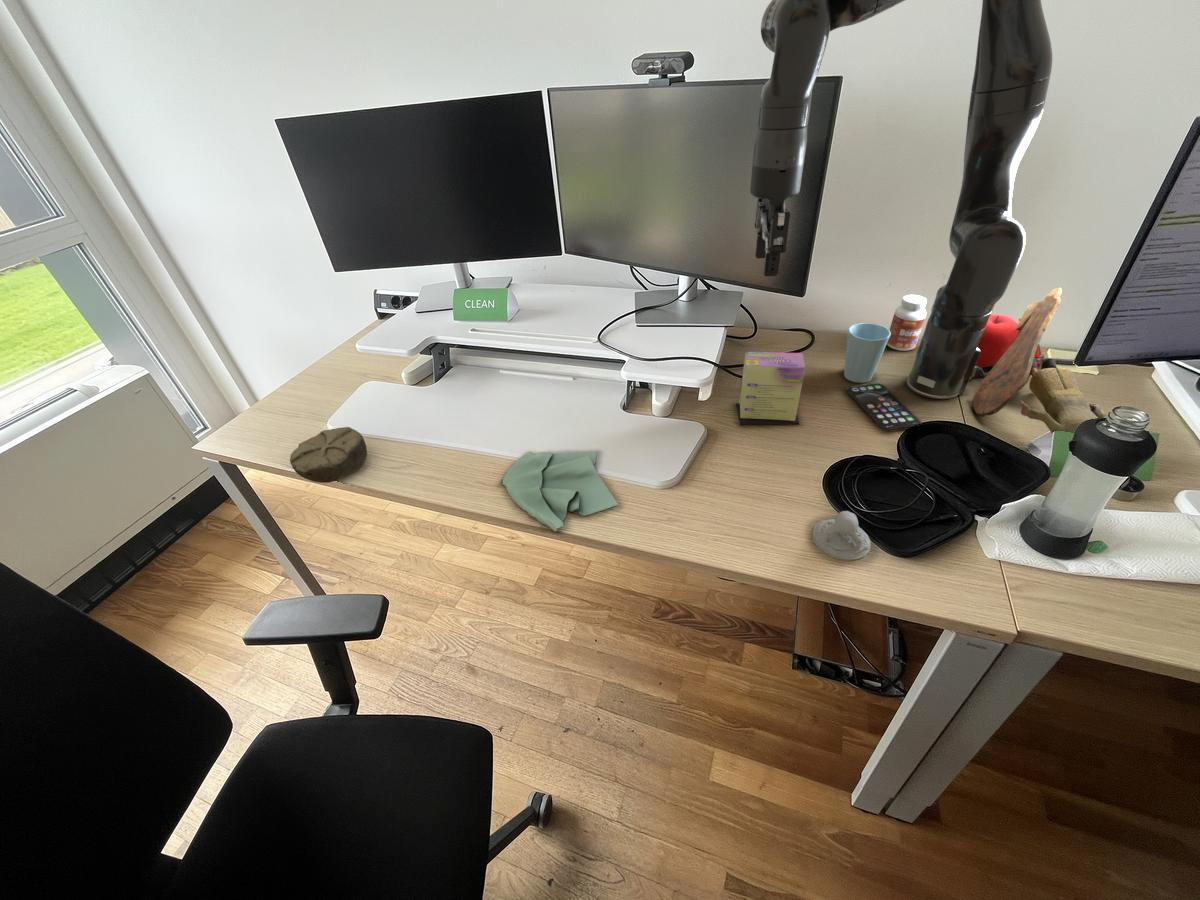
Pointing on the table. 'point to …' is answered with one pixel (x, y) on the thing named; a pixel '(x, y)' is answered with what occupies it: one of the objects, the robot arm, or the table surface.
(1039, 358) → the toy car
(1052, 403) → the figurine
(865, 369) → the cup
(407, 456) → the table surface
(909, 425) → the smartphone
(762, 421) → the black striped rectangular slab
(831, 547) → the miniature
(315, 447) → the stone
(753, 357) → the box
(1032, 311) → the paddle
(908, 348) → the pill bottle
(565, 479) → the cloth
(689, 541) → the table surface
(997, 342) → the apple
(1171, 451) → the table surface
